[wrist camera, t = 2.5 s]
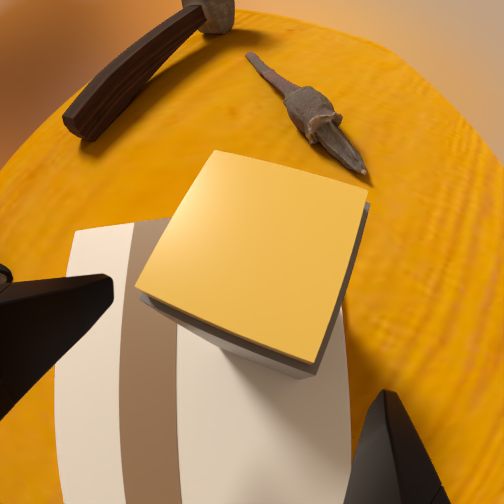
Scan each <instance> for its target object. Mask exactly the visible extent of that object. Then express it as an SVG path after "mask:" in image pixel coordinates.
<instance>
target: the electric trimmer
mask: <svg viewBox="0 0 504 504" xmlns="http://www.w3.org/2000/svg"><path fill="white" fill-rule="evenodd" d="M12 279H13V277H12V274H11V271H10V270H9V269H8V268H7V267H6V266H4V265H2V264H0V284H3V283H11V282H12Z"/></svg>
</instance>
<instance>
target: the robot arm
mask: <svg viewBox="0 0 504 504" xmlns="http://www.w3.org/2000/svg"><path fill="white" fill-rule="evenodd" d="M113 301H114V282H113V279H112V278H111V277H110V276H108V275H106V274H104V273H100V274H90V275H81V276H71V277H62V278H52V279H42V280H33V281H23V282H13V283H3V284H0V421H1V420H2V419H3V418H4V417H5V415H6V414H7V413H8V412H9V411H10V410H11V409H12V408H13V407H14V406H15V404H16V403H17V402H18V401H19V400H20V399H21V398H22V397H23V396H24V395H25V394H26V393H27V392H28V391H29V390H30V389H31V388H32V387H33V386H34V385H35V384H36V383H37V382H38V381H39V380H40V379H41V378H42V377H43V376H44V375H45V374H46V372H47V371H48V370H49V369H50V368H51V367H53V366H54V365H55V364H56V363H57V362H58V361H59V360H60V359H61V358H62V357H63V356H64V355H65V354H66V353H67V352H68V351H69V350H70V349H71V348H72V347H73V346H74V345H75V344H76V343H77V342H78V341H79V340H80V339H81V338H82V337H83V336H84V335H85V334H86V333H87V332H88V331H89V330H90V329H91V328H92V327H93V326H94V324H95V323H96V322H97V321H98V320H99V319H100V317H101V316H102V315H103V314H104V313H105V312H106V311H107V309H108V308H109V307H110V306H111V305H112V303H113ZM441 485H442V483H441V481H440V479H439V477H438V474H437V472H436V470H435V468H434V466H433V464H432V462H431V459H430V457H429V455H428V453H427V451H426V449H425V447H424V445H423V443H422V441H421V439H420V437H419V435H418V433H417V431H416V429H415V427H414V425H413V423H412V421H411V419H410V417H409V415H408V413H407V411H406V410H405V408H404V406H403V404H402V402H401V400H400V398H399V396H398V394H397V393H396V392H394V391H390V390H387V389H383V390H382V391H381V392H380V393H379V394H378V396H377V397H376V399H375V400H374V402H373V403H372V404H371V406H370V407H369V409H368V412H367V414H366V418H365V422H364V425H363V429H362V432H361V436H360V439H359V442H358V445H357V449H356V452H355V455H354V459H353V463H352V468H351V472H350V477H349V481H348V486H347V490H346V494H345V498H344V502H343V504H451V503H450V500H449V498H448V496H447V494H446V492H445V490H444V487H443V486H441Z"/></svg>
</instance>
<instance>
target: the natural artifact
mask: <svg viewBox="0 0 504 504" xmlns="http://www.w3.org/2000/svg"><path fill="white" fill-rule="evenodd" d="M245 57H246V58H247V59H248V60H249V61H250V62H251V63H252V65H253V66H254V67H255V69H256V71H257V72H258V73H259V74H261V75H262V76H263V77H264V78H265V79H266V80H268V81H269V82H270V83H271V84H272V85H274V86H275V87H276V88H277V89H278V90H279V91H280V92H281V93H282V94H283V95H284V97H285V99H284V100H283V103H284V105H285V107H286V108H287V112H288V115H289V117H290V119H291V120H292V122H293V123H294V124H295V126H296V127H297V128H298V129H299V130H300V131H301V132H303V133H304V134H306V135H305V137H306V138H307V139H308V140H309V142H308V143H309V144H315V143H318V142H320V143H321V144H322V146H323V147H324V148H325V149H326V150H327V151H328V153H330V154H331V155H332V156H333V157H334V158H336V159H337V160H339V161H340V162H341V163H342V164H343V165H344V166H345V167H346V168H348V169H351V170H353V171H356V172H357V173H362V174H363V175H364V176H365V175H366V174H367V171H366V170H365V169H364V168H365V164H364V162H363V160H362V157H361V156H360V154H359V153H358V152H357V151H356V150H355V149H354V147H353V146H352V145H351V143H350V141H349V140H348V139H347V138H346V137H345V136H344V134H343V133H342V132H341V131H340V130H339V128H338V126H339V125H340V124H341V121H342V119H343V117H342V115H341V114H337V113H336V112H335V111H334V108H333V105H332V104H331V102H330V101H329V100H328V99H327V98H326V97H325V96H324V95H322V94H321V93H320V92H318V91H316V90H315V89H314V88H313V87H311V86H305V87H302V88H301V87H299V86H297V85H295V84H293V83H291V82H289V81H287V80H286V79H284V78H283V77H281V76H280V75H278V74H277V73H276V72H275V71H274V70H273V69H271V68H269V67H268V66H267V65H266V64H264V62H263V61H261V60H260V58H259V57H258V56H257V55H256V54H255V53H253V52H249V53H247V54H246V55H245Z"/></svg>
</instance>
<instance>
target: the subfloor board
mask: <svg viewBox="0 0 504 504" xmlns="http://www.w3.org/2000/svg"><path fill="white" fill-rule="evenodd" d="M171 219H172V218H164V219H156V220H148V221H140V222H135V223H128V224H121V225H114V226H107V227H100V228H93V229H86V230H80V231H76V232H75V236H74V240H73V244H72V249H71V253H70V258H69V263H68V268H67V273H66V277H71V276H81V275H90V274H100V273H104V274H106V275H108V276H110V277H111V278H112V279H113V282H114V301H113V303H112V305H111V306H110V307H109V308H108V309H107V311H106V312H105V313H104V314H103V315H102V316H101V317H100V319H99V320H98V321H97V322H96V323H95V324H94V326H93V327H92V328H91V329H90V330H89V331H88V332H87V333H86V334H85V335H84V336H83V337H82V338H81V339H80V340H79V341H78V342H77V343H76V344H75V345H74V346H73V347H72V348H71V349H70V350H69V351H68V352H67V353H66V354H65V355H64V356H63V357H62V358H61V359H60V360H59V361H58V362H57V363H56V364H55V433H56V447H57V458H58V467H59V475H60V482H61V488H62V494H63V500H64V504H343V502H344V498H345V494H346V490H347V486H348V481H349V477H350V472H351V419H350V397H349V381H348V367H347V355H346V344H345V333H344V324H343V315H342V306H341V308H340V311H339V314H338V317H337V320H336V323H335V326H334V328H333V331H332V334H331V337H330V340H329V342H328V345H327V348H326V350H325V353H324V356H323V358H322V361H321V363H320V366H319V369H318V371H317V374H316V376H312V377H309V378H305V379H301V380H298V379H296V378H293V377H290V376H287V375H285V374H282V373H279V372H277V371H274V370H272V369H269V368H266V367H264V366H261V365H259V364H256V363H254V362H252V361H249V360H247V359H244V358H242V357H239V356H237V355H235V354H232V353H230V352H228V351H225V350H223V349H221V348H219V347H217V346H215V345H213V344H211V343H210V342H208V341H206V340H204V339H203V338H201V337H199V336H197V335H196V334H194V333H192V332H190V331H189V330H187V329H185V328H184V327H182V326H180V325H179V324H177V323H175V322H174V321H172V320H170V319H169V318H167V317H165V316H164V315H162V314H161V313H159V312H157V311H156V310H154V309H153V308H151V307H150V306H148V305H146V304H145V303H143V302H142V301H140V300H139V298H140V296H141V294H142V292H141V291H140V290H139V289H137V288H136V287H134V286H135V284H136V282H137V280H138V278H139V276H140V274H141V273H142V271H143V269H144V267H145V265H146V263H147V261H148V260H149V258H150V256H151V254H152V252H153V250H154V249H155V247H156V245H157V243H158V241H159V240H160V238H161V236H162V234H163V233H164V231H165V229H166V227H167V226H168V224H169V222H170V220H171Z"/></svg>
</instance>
